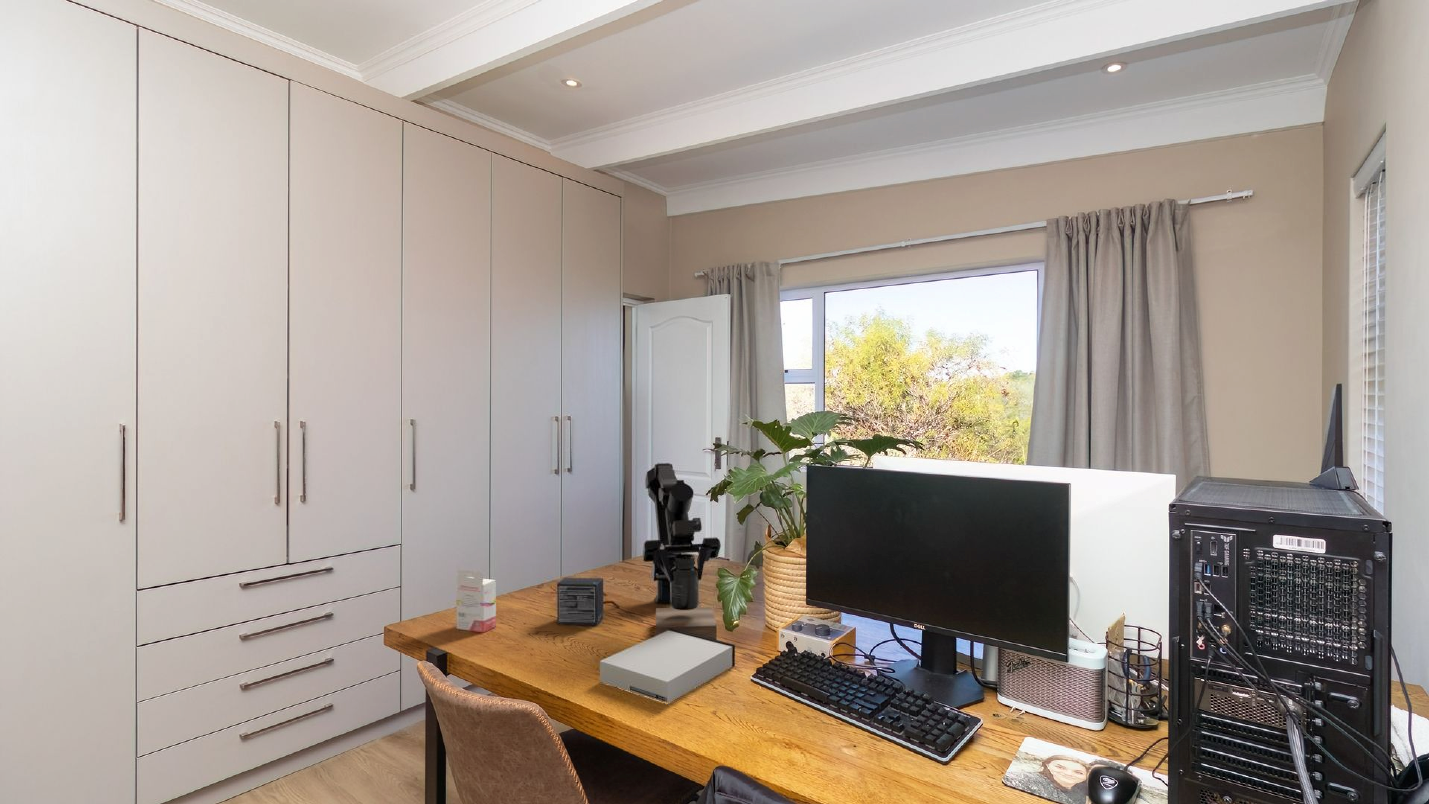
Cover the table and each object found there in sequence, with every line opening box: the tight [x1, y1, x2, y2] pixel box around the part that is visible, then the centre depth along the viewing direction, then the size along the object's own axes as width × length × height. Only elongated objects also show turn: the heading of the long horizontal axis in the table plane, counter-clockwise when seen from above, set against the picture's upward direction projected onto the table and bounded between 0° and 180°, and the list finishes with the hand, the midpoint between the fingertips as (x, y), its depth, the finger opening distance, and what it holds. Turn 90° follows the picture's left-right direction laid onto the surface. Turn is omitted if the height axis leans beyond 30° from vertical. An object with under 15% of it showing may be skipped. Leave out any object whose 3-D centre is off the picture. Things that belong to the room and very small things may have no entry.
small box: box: [556, 577, 605, 627], centre depth 171 cm, size 11×6×10 cm, turn 84°
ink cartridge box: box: [455, 568, 497, 633], centre depth 166 cm, size 9×5×15 cm, turn 68°
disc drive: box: [599, 628, 736, 703], centre depth 139 cm, size 18×22×5 cm
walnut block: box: [655, 606, 718, 640], centre depth 162 cm, size 14×14×4 cm
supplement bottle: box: [670, 553, 700, 610], centre depth 162 cm, size 7×7×12 cm
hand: (685, 580), depth 161 cm, fingers closed on supplement bottle, 7 cm apart
